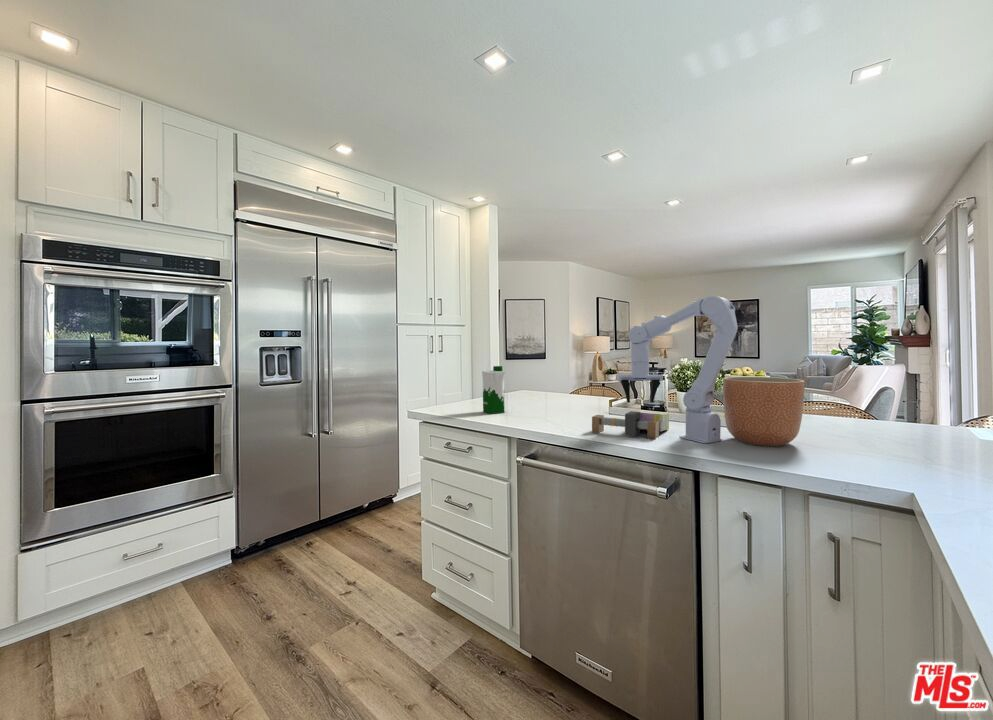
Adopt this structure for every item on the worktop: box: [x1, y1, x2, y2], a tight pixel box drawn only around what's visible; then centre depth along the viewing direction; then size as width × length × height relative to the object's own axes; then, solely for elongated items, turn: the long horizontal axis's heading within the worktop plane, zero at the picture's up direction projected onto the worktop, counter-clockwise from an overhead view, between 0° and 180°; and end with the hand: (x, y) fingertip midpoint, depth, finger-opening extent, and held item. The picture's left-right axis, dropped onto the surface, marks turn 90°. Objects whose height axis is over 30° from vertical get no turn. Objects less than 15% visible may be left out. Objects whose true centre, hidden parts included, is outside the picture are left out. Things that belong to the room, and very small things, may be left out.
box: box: [636, 410, 670, 433], centre depth 148 cm, size 10×6×12 cm
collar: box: [624, 411, 641, 438], centre depth 141 cm, size 3×7×7 cm, turn 148°
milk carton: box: [481, 365, 506, 415], centre depth 189 cm, size 9×9×20 cm
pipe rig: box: [591, 414, 660, 440], centre depth 142 cm, size 20×5×5 cm, turn 58°
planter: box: [722, 376, 806, 447], centre depth 130 cm, size 21×21×19 cm
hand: (639, 402), depth 148 cm, fingers open, 7 cm apart
